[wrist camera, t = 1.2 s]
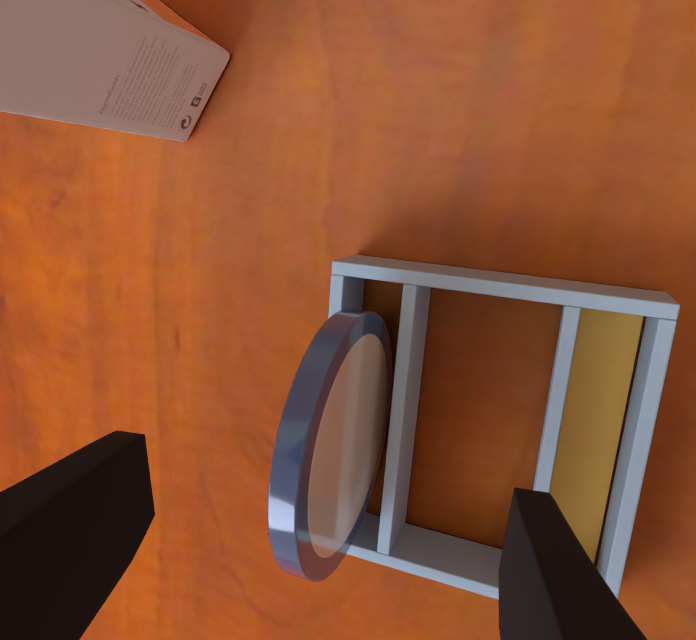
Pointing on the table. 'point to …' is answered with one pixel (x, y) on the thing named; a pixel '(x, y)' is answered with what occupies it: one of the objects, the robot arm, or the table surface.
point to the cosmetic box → (106, 65)
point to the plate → (330, 444)
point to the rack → (559, 423)
